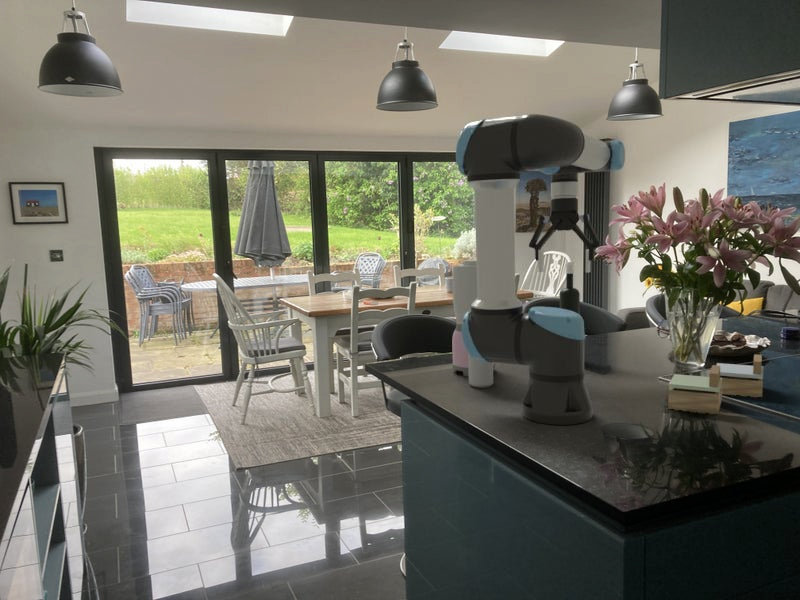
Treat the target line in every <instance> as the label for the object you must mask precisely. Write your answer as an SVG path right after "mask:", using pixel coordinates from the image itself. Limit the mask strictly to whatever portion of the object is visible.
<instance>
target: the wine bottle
mask: <svg viewBox="0 0 800 600" xmlns="http://www.w3.org/2000/svg"><path fill="white" fill-rule="evenodd" d="M565 274H566V276H565V278H566V280H565V283H566V284H565V285H566V287H564V288H562V289H561V290H560V292H559V308H561V309H566V310H570V311H573V312H576V313H578V314H579V315H580V316H581V314H580V311H581V309H580V307H581V306H580V303H581V302H580V299H581V298H580V297H581V294H580V291H579V289H577V288H576V287H574V262H573V261H566V263H565Z"/></svg>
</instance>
